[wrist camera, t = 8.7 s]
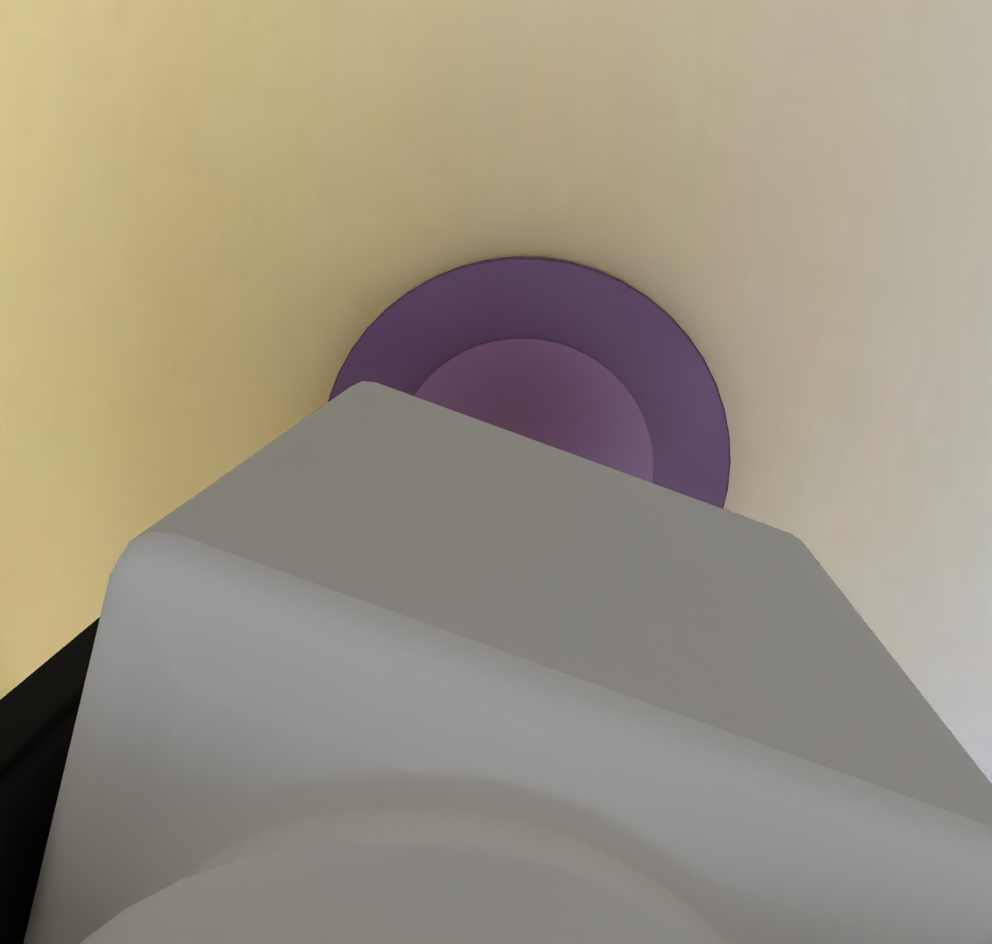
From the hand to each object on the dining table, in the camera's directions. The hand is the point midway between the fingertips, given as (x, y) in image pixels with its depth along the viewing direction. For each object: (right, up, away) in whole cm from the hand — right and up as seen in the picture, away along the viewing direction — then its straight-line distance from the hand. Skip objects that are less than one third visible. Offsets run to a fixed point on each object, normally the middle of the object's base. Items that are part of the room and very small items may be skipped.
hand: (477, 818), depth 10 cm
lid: (+1, +4, +16) cm, 17 cm away
